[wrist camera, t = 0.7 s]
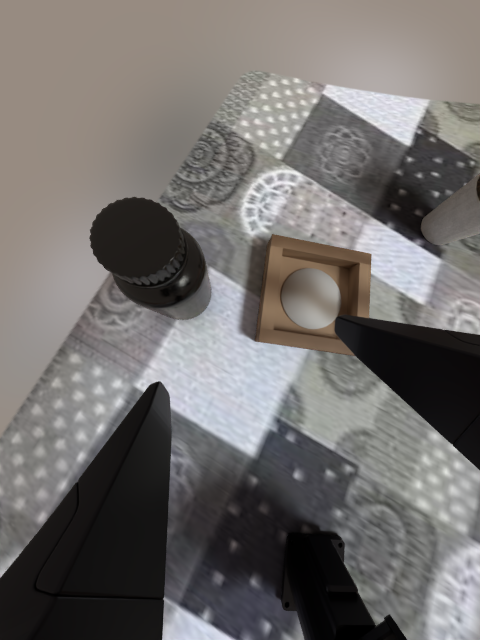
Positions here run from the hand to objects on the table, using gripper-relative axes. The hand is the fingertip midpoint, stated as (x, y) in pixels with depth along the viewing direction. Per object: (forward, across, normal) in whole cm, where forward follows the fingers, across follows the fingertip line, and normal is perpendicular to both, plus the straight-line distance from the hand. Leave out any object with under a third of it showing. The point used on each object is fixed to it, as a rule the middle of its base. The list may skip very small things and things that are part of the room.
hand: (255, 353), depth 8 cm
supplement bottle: (+15, +4, +1) cm, 16 cm away
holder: (+12, -11, +5) cm, 17 cm away
